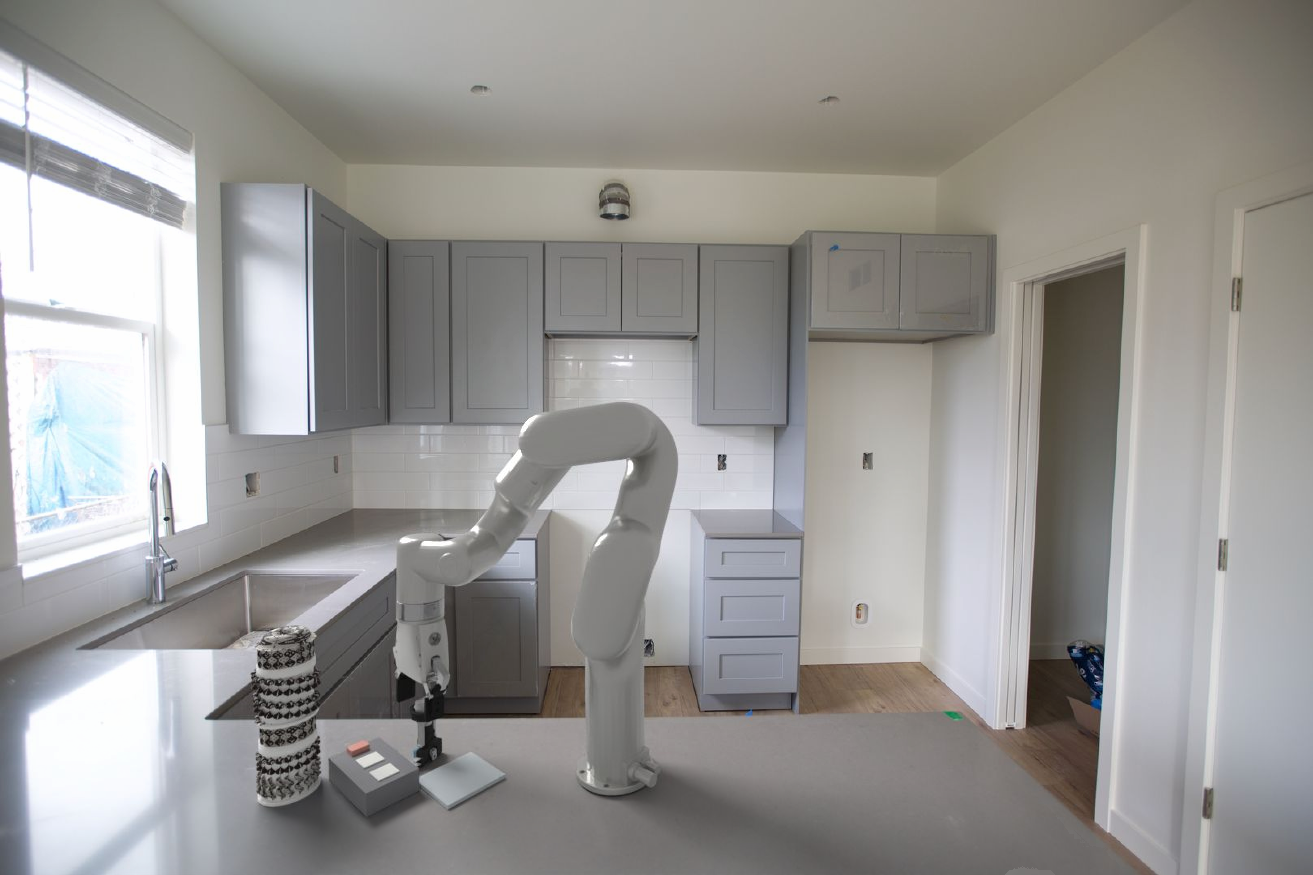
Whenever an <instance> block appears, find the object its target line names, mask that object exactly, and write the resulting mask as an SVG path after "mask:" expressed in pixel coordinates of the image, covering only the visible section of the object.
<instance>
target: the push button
mask: <svg viewBox="0 0 1313 875" xmlns="http://www.w3.org/2000/svg"><path fill="white" fill-rule="evenodd" d="M426 697H427V695H425V696H422V697H420V698H418V699H416V700H415V702H414V703H413V704H412V705H411V706H410V707H409V710H408V711H409V714H410V718H411V720H412V722H413V721H414V722H416V725H417V740H416V745H417V746H416V748H414V749H413V759H412V760H411V761H410V762H411V763H413V764H414V765H415V766H417V767H424V766H426V765H427V764H428V763H429V762H430V761H435V760H436V759H437V756H439V755H441V754H442V753H443V739H442V737H438V736H437V734H438V733H437V722H436V721H437V719H436V720H433V721H431V722H428V723H426V722H425V721H424V698H426Z"/></svg>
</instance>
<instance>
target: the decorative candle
mask: <svg viewBox="0 0 1313 875" xmlns="http://www.w3.org/2000/svg"><path fill="white" fill-rule="evenodd" d="M317 637H318V636H317V633H316V632H312V631H311V630H310V629H309V628H308V627H306V626H304V625H297V624H296V625H287V626H286V625H285V626H281V627H278V628H275V629H272V630H270V631H268V632H267V633H265V634H264V635H263V636H262V638H261V640H259V641H258V642H257V643H256V644H254V649H256V653H257V654H256V655H257V658H256V659H257V660H256V662H257V663H256V664H255V665H256V666H255V667H256V668H254V670H253V672H252V671H251V672H250V678H251V679H250V680H251V681H250V684H251V687H250V689H251V690H253V691H254V693H252V702H253V704H252V706H253V709H252V712H253V713H255V714H256V715H255V716H254V719H253V720H254V724H255V726H256V727H257V728H258V730H259V734H258V735H259V738H258V739H257V741H258V744H257V745H258V746H257V747H258V748H257V749H258V750H257V751H256V752H255V756H256V757H255V761H257V762H255V763H256V764H255V766H256V767H255V770H256V771H257V773H256V775H255V778H256V779H255V782H256V787H255V788H256V790H255V791H256V794H257V803H258V804H260V805H261V806H263V807H269V808H275V807H283V806H288V805H291V804H293V803H296V802H299V801H301V800H304V799H305V798H306V797H308V796H310V795H311V794H312V793H314V792H315V791H316V790H317V789H318V788H319V786H320V784H322V783H321V780H322V779H321V774H322V770H321V769H322V767H321V766H320V765H321V764H322V761H321V756H319V755H320V754H321V751H322V750H321V749H320V748H321V746H320V743H321V739H320V738H321V737H320V735H318V734H319V732H318V724H317V713H318V712H319V710H320V707H321V702H320V700H318V699H319V697H320V696H321V692H320V691H319V690H316V688H317V687H318V686H319V685H320V684H322V681H321V679H320V678H319V676H320V674H322V673H321V672H322V671H321V670H320V668H319V667H316V664H317V660H316V659H317V657H316V653H315V643H314V642H315V639H316V638H317Z"/></svg>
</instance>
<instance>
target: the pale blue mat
mask: <svg viewBox="0 0 1313 875" xmlns="http://www.w3.org/2000/svg"><path fill="white" fill-rule="evenodd" d="M504 779H506V773H504V772H502V771H501V770H500V769H498V768H496V767H495V766H493V765H492V764H491V763H489V762H487V761H486V760H484V759H483V758H481V757H480V756H479V755H477V754H475V753H474V752H472V751H469V752H468V753H465V754H463V755H462V756H460V757H457V758H455V759H453V760H451V761H449V762H447V763H445V764H442V765H441V766H438V767H437V768H434V769H432V770H431V771H428V772H426V773H423V774H422V775H419V788H421V789H422V790H423V791H424V792H425V793H427V794H428V795H429V796H430V797H432V798H433V799H434V800H435V801H436V802H438V803H439V804H440V805H441V806H443V807H444V809H446V810H450V809H451V808H453V807H456V806H457V805H460V804H461V803H462V802H464V801H467V800H468V799H470V798H472V797H473V796H475V795H477V794H480V792H482V791H485V790H486V789H488V788H490V787H491V786H493V785H495V784H497V783H499V782H501V781H503V780H504Z"/></svg>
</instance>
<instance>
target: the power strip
mask: <svg viewBox="0 0 1313 875" xmlns="http://www.w3.org/2000/svg"><path fill="white" fill-rule="evenodd" d="M327 762H328V780H329V781H330V782H331V783H332V785H334V786H335V787H336V788H337V789H338V790H339V791H340V793H342V794H343V795H344V796H345V797H346V798H347V799H348V800H349V801H350V802H351V803H352V804H353V806H354V807H355V808H356V809H358V811H360V813H362V814H363V816H364V817H365V818H368V817H370V816H373V815H374V814H376V813H378V812H380V811H382V810H384V809H385V808H388V807H390V806H392V805H393V804H396V803H398V802H400V801H402V800H404V799H406V798H408V797H410V796H412V795H414V794H416V793H417V792H419V791H420V787H419V777H420V768H419V766H415V765H414V764H413V763H411V761H410V760H409V759H408V758H407V757H405V755H403V754H401V753H400V752H399V751H398V750H396V749H395V748H394V747H392V746H391V745H390V744H389V743H387V742H386V741H385V740H383V739H382V738H381V737H380V736H377V737H376V738H372V739H371V740H368V741H366V740H365V739H363V740H361V741H359V742H355V743H354V744H351V745H349V746H347V747H346V750H344V751H341V752H339V753H336V754H334V755H332V756H329V757H328V761H327Z"/></svg>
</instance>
